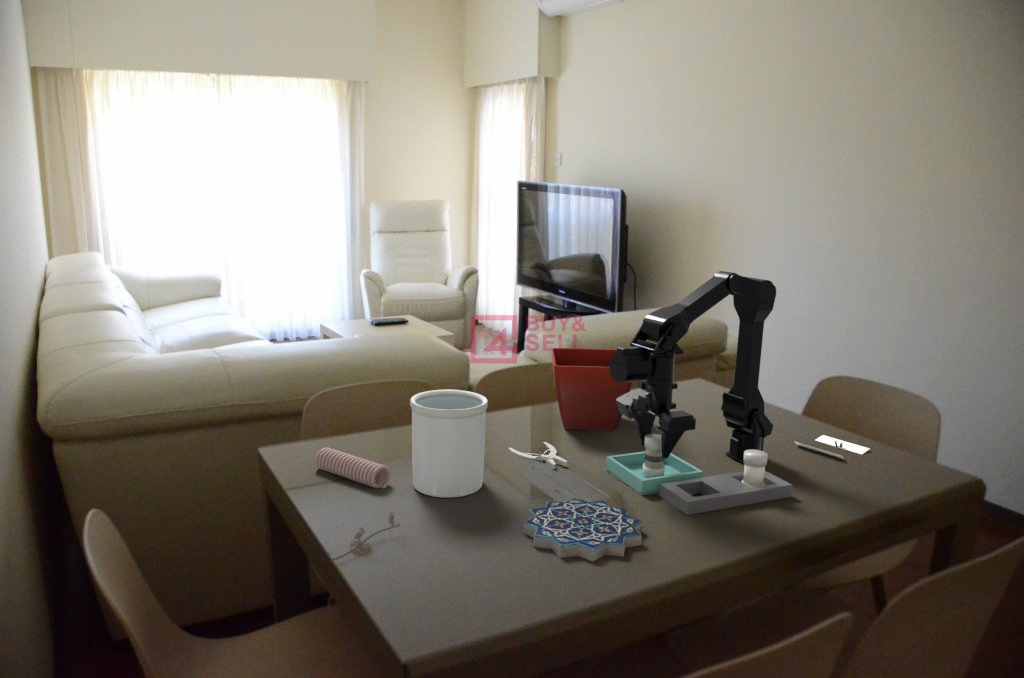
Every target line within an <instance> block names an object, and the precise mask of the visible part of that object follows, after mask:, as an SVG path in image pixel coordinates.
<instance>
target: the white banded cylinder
mask: <svg viewBox="0 0 1024 678" xmlns="http://www.w3.org/2000/svg"><path fill="white" fill-rule="evenodd" d="M643 447H644V448H645V450H644V451H645V462H644V463H643V469H642V475H643V476H644V477H647V478H653V477H659V476H664V470H665V466H664V465H663V464H664V458H663V457H662V442H661V434H658V433H651V434H648V435H645V442H644V446H643Z"/></svg>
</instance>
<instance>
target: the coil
mask: <svg viewBox="0 0 1024 678" xmlns="http://www.w3.org/2000/svg"><path fill="white" fill-rule="evenodd" d="M314 464H315V467H316V468H317V469H319V470H321V471H325V472H328V473H331V474H334V475H337V476H339V477H341V478H345V479H348V480H350V481H353V482H356V483H359V484H363V485H366V486H367V487H371V488H374V489H379V488H381V489H385V488H387V487H388V486H389V485H390V482H391V480H392V479H391V478H392V473H391V470H390V468H389V467H388V466H387V465H385V464H382V463H378V462H374V461H372V460H368V459H365V458H362V457H360V456H356V455H352V454H350V453H347V452H343V451H341V450H337V449H334V448H332V447H331V448H330V447H328V446H327V447H324V448H323V447H322V448H321V449H320V450H319V451H318V452H317V453H316V454H315V457H314Z"/></svg>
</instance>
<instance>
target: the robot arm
mask: <svg viewBox="0 0 1024 678" xmlns="http://www.w3.org/2000/svg"><path fill="white" fill-rule="evenodd" d="M728 296H733V307H734V310H735V312H736V314H737V317H738V318H739V319H738V320H739V325H738V335H737V346H736V360H735V371H734V381H733V386H731V388H730V389H729V391H728V392H726V391H724V392H723V393H722V405H721V407H720V410H721V411H722V416H723V418H724V419H725V424H726V427H727V428H730V429H732V432H731V437H730V440H729V441H730V442H729V451H725V455H727V456H728V457H730V458H732V459H734V460H736V461H738V462H740V463H741V464H744V463H743V459H744V451H745V450H751V449H753V450H760V451H764V443H765V438H768V437H767V436H770V435H771V434H772V431H773V428H774V424H773V423H772V422H771V420H770V419H769V418H768V417H767V415H766V414H765V400H764V397H763V396H762V394H761V391H760V389H759V380H760V369H761V358H762V348H763V339H764V338H763V336H764V327H765V321H766V319H767V318H768V316H770V314H771V312H772V311H773V310H774V306H775V301H776V297H777V286H776V285H775V284H774V283H773V281H771V280H769V279H762V278H756V277H751V276H750V277H749V276H743V275H740V274H738V273H735V272H731V271H726V270H719V271H717V272H715V273H714V274H713V275H712V277H711V278H710V279H708V280H707V281H706V282H704V283H702V284H701V285H700V286H699V287H697V288H696V289H694V290H693V291H691V292H690V293H689V294H688V295H686V296H685V297H683V298H682V299H681V300H679V301H677V303H674V304H673V305H669V306H665V307H661V308H658V309H657V310H654V311H652V312H650V313H648V314H647V315H646V316H645V317H644V318H643V320H642V324H641V325H640V327H639V328H638V330H637V332H636V334H635V335H634V337H633V338H632V340H631V342H630V343H629V346H618V347H617V348H616V350H617V353H616V354H614V355H613V357H612V359H611V362H610V363H609V369H610V373H611V376H612V378H613V379H614V380H615V381H616V382H617V383H623V382H631V381H632V382H637V381H639V382H638V385H637V386H638V387H637V388H636V389H633V390H630V392H628V393H625V394H624V395H622V396H620V397H618V398H617V399H616V401H617V405H618V408H619V412H620V414H621V415H622V414H623V415H622V416H625V417H626V418H627V419H630V420H631V419H634V422H635V426H636V428H637V429H636V430H637V433H638V436H639V441H640V444H641V446H642V447H644V442H645V435H648V434H652V431H653V427H654V425H655V419H656V417H658V426H655V429H656V430H657V431H658V432H659V433H660V435H661V442H662V457H663V458H664V459H665V458H668V457H669V455H670V454H671V453H672V452H673V450H674V449H675V447H676V445H677V443H678V442H679V440H680V439H681V438H682V436H683V435H684V434H685V432H688V431H695V430H696V426H697V418H695V416H694V415H693V414H691V413H689V412H687V411H684V410H681V409H680V410H675V409H677V402H676V403H675V402H674V401H673V391H674V390H677V389H678V386H679V385H678V383H676V382H675V381H674V376H675V359H676V355H678V356H679V355H684V353H685V351H684V350H683V349H682V348H681V347H680V346H679V344H678V343H679V342H680V341H681V340H682V339H683V338H684V337H685V335H687V333H688V332H689V330H690V326H691V324H692V323H693V322H695V321H696V320H697V319H698V318H700V317H701V316H703V315H704V314H705V313H706V312H708V311H709V310H710V309H712V308H714V306H716V305H717V304H719V303H720V302H721V301H722V300H724V299H725V298H726V297H728ZM672 409H673V410H674V411H671V410H672Z"/></svg>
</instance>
